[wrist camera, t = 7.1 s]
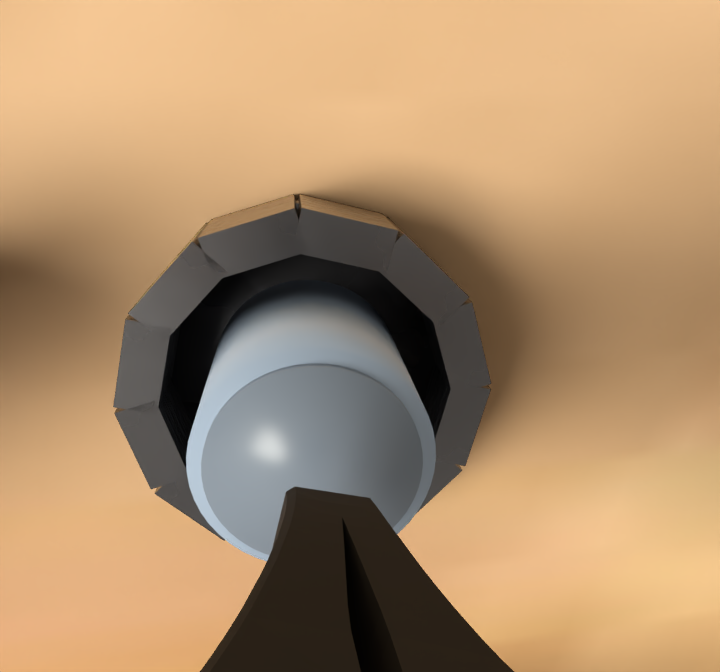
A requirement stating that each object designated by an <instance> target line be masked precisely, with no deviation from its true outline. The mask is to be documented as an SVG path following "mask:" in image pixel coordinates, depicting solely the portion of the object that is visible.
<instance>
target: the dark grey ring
mask: <svg viewBox="0 0 720 672" xmlns="http://www.w3.org/2000/svg"><path fill="white" fill-rule="evenodd" d="M297 280H318V281H324V282H329V283H333V284H336V285H339V286H342V287H344V288H346V289H348V290H351V291H353V292H354V293H356V294H357V295H359V296H361V297H362V298H363V299H364V300H366V301H367V302H368V303H369V304H370V305H371V306H372V307H373V308H374V309H375V310H376V311H377V312H378V313H379V315H380V316H381V318H382V319H383V321H384V322H385V324H386V326H387V328H388V330H389V332H390V334H391V336H392V338H393V340H394V343H395V345H396V347H397V349H398V351H399V353H400V356H401V358H402V360H403V362H404V364H405V366H406V369H407V371H408V373H409V375H410V377H411V379H412V381H413V384H414V386H415V388H416V390H417V392H418V394H419V397H420V399H421V401H422V403H423V405H424V407H425V410H426V412H427V414H428V416H429V419H430V422H431V425H432V428H433V432H434V438H435V443H436V462H435V470H434V475H433V479H432V482H431V486H430V488H429V491H428V493H427V495H426V498H425V500H424V501H423V503H422V505H421V506H420V508H419V510H420V509H421V508H423V507H424V506H425V505H426V504H427V503H428V502H429V501H430V500H431V499H432V498H433V497H434V496H435V495H436V494H438V493H439V492H440V491H441V490H442V489H443V488H444V487H445V486H446V485H447V484H448V483H449V482H450V481H451V480H453V479H454V478H455V477H456V476H457V475H458V474H459V473H460V472H461V471H462V469H461V467H460V465H463V466H465V465H466V462H467V459H468V456H469V453H470V450H471V447H472V444H473V441H474V438H475V435H476V432H477V429H478V426H479V423H480V420H481V417H482V414H483V411H484V408H485V405H486V402H487V399H488V396H489V393H490V390H491V389H490V388H489V386H488V385H489V384H491V381H490V377H489V373H488V368H487V364H486V360H485V355H484V351H483V347H482V342H481V338H480V334H479V330H478V325H477V321H476V317H475V312H474V308H473V304H472V302H471V301H470V300H469V299H468V298H469V296H468V295H467V294H466V293H465V292H464V291H463V290H462V289H461V288H460V287H458V286H457V285H456V284H455V283H454V282H453V281H452V280H451V279H450V278H449V277H448V276H447V275H446V274H445V273H444V272H443V271H442V270H441V269H440V268H439V267H438V266H437V265H436V264H435V263H434V262H433V261H432V260H431V259H430V258H429V257H428V256H427V255H426V254H425V253H424V252H423V251H422V250H421V249H420V248H419V247H418V246H417V245H416V244H415V243H414V242H413V241H412V240H411V239H410V238H409V237H408V236H407V235H406V234H405V233H403V232H402V231H401V230H400V229H399V228H398V227H397V226H396V225H395V224H394V223H393V222H392V221H391V220H390V219H389V218H388V217H385V216H384V215H383V214H382V213H377V212H373V211H369V210H365V209H361V208H356V207H352V206H348V205H344V204H340V203H335V202H331V201H327V200H323V199H319V198H314V197H310V196H306V195H302V194H300V195H299V199H297V200H295V197H294V194H293V195H290V196H286V197H283V198H280V199H277V200H273V201H270V202H267V203H264V204H260V205H257V206H254V207H251V208H247V209H244V210H241V211H237V212H234V213H231V214H228V215H224V216H221V217H218V218H215V219H211V221H210V222H209V223H208V224H207V223H206V224H205V225H204V226H203V227H202V228H201V229H200V231H199V232H198V233H197V234H196V235H195V236H194V237H193V239H192V240H191V241H190V242H189V243H188V244H187V245H186V246H185V248H184V249H183V250H182V251H181V252H180V253H179V254H178V256H177V257H176V258H175V259H174V260H173V261H172V262H171V263H170V265H169V266H168V267H167V268H166V269H165V270H164V271H163V273H162V274H161V275H160V276H159V277H158V278H157V279H156V280H155V282H154V283H153V284H152V285H151V286H150V287H149V289H148V290H147V291H146V292H145V294H144V295H143V296H142V297H141V298H140V300H139V301H138V302H137V303H136V305H135V306H134V307H133V308H132V310H131V311H130V312H129V313H128V314H129V316H128V317H127V318H126V319H125V327H124V334H123V341H122V348H121V356H120V363H119V370H118V377H117V384H116V392H115V399H114V406H113V407H116V408H117V409H116V411H115V415H116V417H117V420H118V422H119V424H120V426H121V428H122V430H123V432H124V434H125V436H126V438H127V440H128V442H129V445H130V447H131V449H132V451H133V453H134V455H135V457H136V459H137V461H138V463H139V465H140V468H141V470H142V472H143V474H144V476H145V478H146V480H147V482H148V484H149V486H150V488H151V489H153V488H157V489H156V492H155V494H156V495H158V496H159V497H160V498H162V499H163V500H165V501H166V502H168V503H169V504H171V505H172V506H174V507H175V508H177V509H178V510H180V511H181V512H183V513H184V514H186V515H187V516H188V517H190V518H191V519H193V520H194V521H196V522H197V523H199V524H200V525H202V526H203V527H205V528H206V529H208V530H209V531H211V532H212V533H213V534H215V535H216V536H218V537H219V538H221V539H222V540H224V541H225V539H224V538H223V537H221V536H220V535H219V534H218V533H217V532H216V531H215V530H214V529H213V528H212V527H211V526H210V525H209V523H208V522H207V521H206V519H205V518H204V516H203V515H202V514H201V512H200V510H199V508H198V506H197V505H196V503H195V501H194V498H193V496H192V493H191V490H190V487H189V482H188V477H187V471H186V454H187V446H188V440H189V437H190V433H191V430H192V426H193V423H194V420H195V417H196V414H197V410H198V407H199V404H200V401H201V398H202V394H203V391H204V388H205V385H206V382H207V379H208V375H209V372H210V369H211V366H212V363H213V359H214V356H215V353H216V350H217V347H218V344H219V340H220V337H221V335H222V333H223V331H224V328H225V326H226V325H227V323H228V322H229V320H230V318H231V317H232V316H233V315H234V313H235V312H236V311H237V310H238V309H239V308H240V307H241V306H242V305H243V304H244V303H245V302H246V301H247V300H249V299H250V298H252V297H253V296H254V295H256V294H257V293H259V292H261V291H263V290H265V289H267V288H269V287H272V286H275V285H278V284H281V283H285V282H290V281H297ZM419 510H418V511H419ZM418 511H417V512H418Z"/></svg>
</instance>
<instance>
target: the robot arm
mask: <svg viewBox="0 0 720 672" xmlns="http://www.w3.org/2000/svg"><path fill="white" fill-rule="evenodd" d="M200 672H514V671H513V670H512V669H511V668H510V667H509V666H508V665H507V664H506V663H505V662H503V661H502V660H501V659H500V658H499V656H498V655H497V654H496V653H495V652H494V651H493V650H492V649H491V648H490V647H489V646H488V645H487V644H486V643H485V642H484V641H483V640H482V639H481V637H480V636H479V635H478V634H477V633H476V632H475V631H474V630H473V628H472V627H471V626H470V625H469V624H468V623H467V622H466V621H465V619H464V618H463V617H462V616H461V615H460V614H459V613H458V611H457V610H456V609H455V608H454V607H453V606H452V605H451V603H450V602H449V601H448V600H447V599H446V597H445V596H444V595H443V594H442V592H441V591H440V590H439V589H438V588H437V586H436V585H435V584H434V583H433V581H432V580H431V579H430V578H429V576H428V575H427V574H426V572H425V571H424V570H423V569H422V567H421V566H420V565H419V563H418V562H417V561H416V559H415V558H414V557H413V555H412V554H411V553H410V551H409V550H408V549H407V547H406V546H405V545H404V543H403V542H402V541H401V539H400V538H399V537H398V535H397V534H396V532H395V531H394V530H393V528H392V527H391V526H390V524H389V523H388V521H387V520H386V519H385V517H384V516H383V514H382V513H381V512H380V510H379V509H378V508H377V506H376V505H375V504H374V502H373V501H372V500H371V498H368V497H361V496H354V495H348V494H341V493H335V492H328V491H322V490H315V489H309V488H302V487H293V488H291V489H290V490H288V491H286V493H285V498H284V502H283V506H282V510H281V514H280V518H279V523H278V527H277V531H276V535H275V539H274V543H273V548H272V551H271V553H270V556H269V558H268V560H267V563H266V565H265V567H264V569H263V571H262V573H261V575H260V577H259V578H258V580H257V582H256V584H255V586H254V588H253V589H252V591H251V593H250V595H249V597H248V599H247V600H246V602H245V604H244V606H243V608H242V609H241V611H240V613H239V614H238V616H237V618H236V619H235V621H234V622H233V624H232V626H231V627H230V629H229V630H228V632H227V633H226V635H225V637H224V638H223V640H222V641H221V643H220V644H219V645H218V647H217V648H216V650H215V651H214V653H213V654H212V656H211V657H210V659H209V660H208V661H207V663H206V664H205V666H204V667H203V668H202V670H201V671H200Z"/></svg>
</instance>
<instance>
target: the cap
mask: <svg viewBox="0 0 720 672" xmlns="http://www.w3.org/2000/svg"><path fill="white" fill-rule="evenodd" d="M435 462H436V443H435V438H434V432H433V428H432V425H431V422H430V419H429V416H428V414H427V412H426V410H425V407H424V405H423V403H422V401H421V399H420V397H419V394H418V392H417V390H416V388H415V386H414V384H413V381H412V379H411V377H410V375H409V373H408V371H407V369H406V366H405V364H404V362H403V360H402V358H401V356H400V353H399V351H398V349H397V347H396V345H395V343H394V340H393V338H392V336H391V334H390V332H389V330H388V328H387V326H386V324H385V322H384V321H383V319H382V318H381V316H380V315H379V313H378V312H377V311H376V310H375V309H374V308H373V307H372V306H371V305H370V304H369V303H368V302H367V301H366V300H364V299H363V298H362V297H361V296H359V295H357V294H356V293H354V292H353V291H351V290H348V289H346V288H344V287H342V286H339V285H336V284H333V283H329V282H324V281H318V280H297V281H290V282H285V283H281V284H278V285H275V286H272V287H269V288H267V289H265V290H263V291H261V292H259V293H257V294H256V295H254V296H253V297H252V298H250V299H249V300H247V301H246V302H245V303H244V304H243V305H242V306H241V307H240V308H239V309H238V310H237V311H236V312H235V313H234V315H233V316H232V317H231V318H230V320H229V322H228V323H227V325H226V326H225V328H224V331H223V333H222V335H221V337H220V340H219V344H218V347H217V350H216V353H215V356H214V359H213V363H212V366H211V369H210V372H209V375H208V379H207V382H206V385H205V388H204V391H203V394H202V398H201V401H200V404H199V407H198V410H197V414H196V417H195V420H194V423H193V426H192V430H191V433H190V437H189V440H188V446H187V454H186V471H187V477H188V482H189V487H190V490H191V493H192V496H193V498H194V501H195V503H196V505H197V506H198V508H199V510H200V512H201V514H202V515H203V516H204V518H205V519H206V521H207V522H208V523H209V525H210V526H211V527H212V528H213V529H214V530H215V531H216V532H217V533H218V534H219V535H220V536H221V537H223V538H224V539H225V540H226V541H228V542H229V543H230V544H232V545H233V546H235V547H236V548H238V549H240V550H241V551H243V552H245V553H247V554H249V555H251V556H254V557H256V558H258V559H262V560H265V561H267V560H268V558H269V556H270V553H271V551H272V548H273V543H274V539H275V535H276V531H277V527H278V523H279V518H280V514H281V510H282V506H283V502H284V498H285V493H286V491H288V490H290V489H291V488H293V487H302V488H309V489H315V490H322V491H328V492H335V493H341V494H348V495H354V496H361V497H368V498H371V500H372V501H373V502H374V504H375V505H376V506H377V508H378V509H379V510H380V512H381V513H382V514H383V516H384V517H385V519H386V520H387V521H388V523H389V524H390V526H391V527H392V528H393V530H394V531H395V532H396V534H398V533H399V532H400V531H401V530H402V529H403V528H404V527H405V526H406V525H407V524H408V523H409V522H410V520H411V519H412V518H413V517H414V515H415V514H416V513H417V511H418V510H419V508H420V506H421V505H422V503H423V501H424V500H425V498H426V495H427V493H428V491H429V488H430V486H431V482H432V479H433V475H434V470H435Z"/></svg>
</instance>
